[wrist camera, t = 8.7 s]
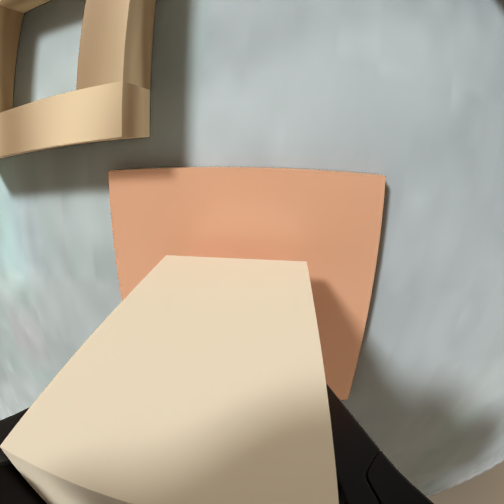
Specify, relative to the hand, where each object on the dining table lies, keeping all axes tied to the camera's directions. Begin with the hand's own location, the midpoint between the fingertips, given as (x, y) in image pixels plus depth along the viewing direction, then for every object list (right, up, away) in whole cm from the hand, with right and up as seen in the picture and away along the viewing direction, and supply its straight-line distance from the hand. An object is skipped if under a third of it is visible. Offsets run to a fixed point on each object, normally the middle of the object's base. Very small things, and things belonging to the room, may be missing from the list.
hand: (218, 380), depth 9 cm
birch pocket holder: (-8, +13, +2) cm, 16 cm away
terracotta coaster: (+1, +2, +5) cm, 6 cm away
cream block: (0, +1, +3) cm, 4 cm away
